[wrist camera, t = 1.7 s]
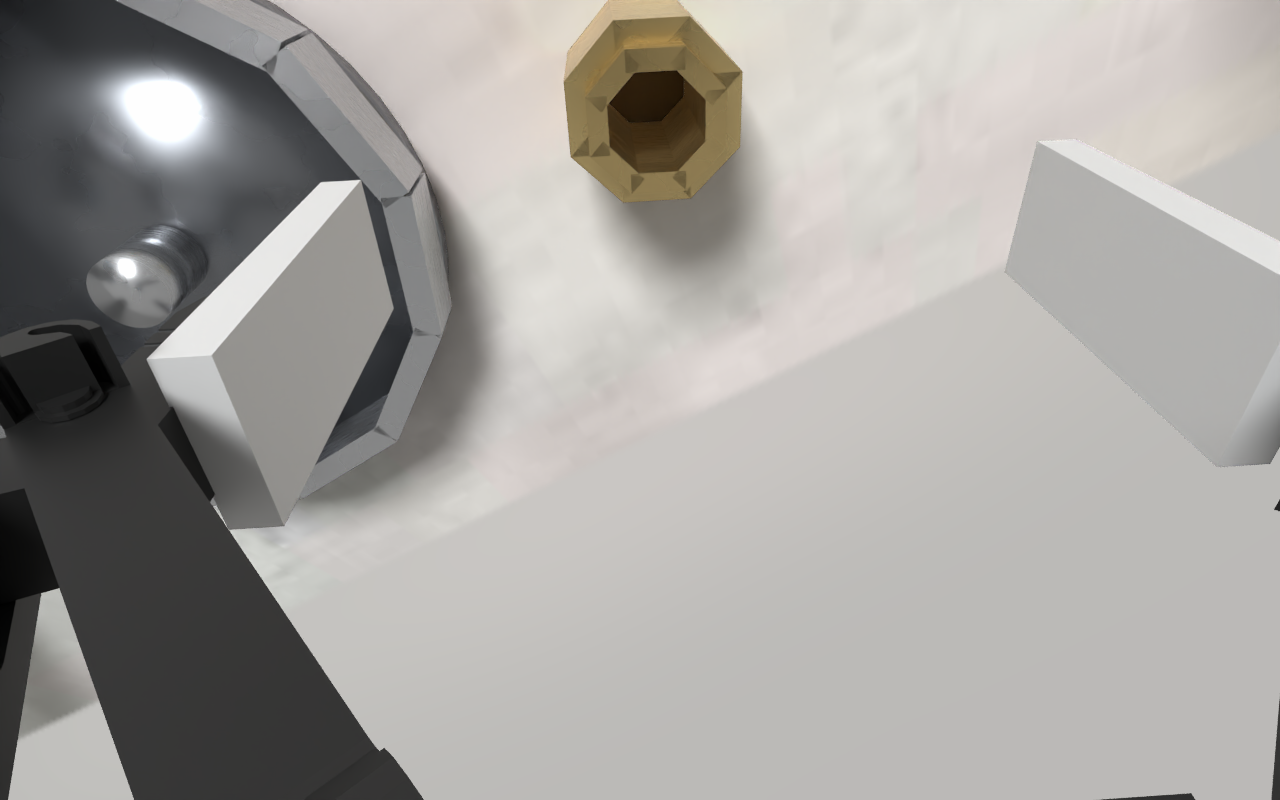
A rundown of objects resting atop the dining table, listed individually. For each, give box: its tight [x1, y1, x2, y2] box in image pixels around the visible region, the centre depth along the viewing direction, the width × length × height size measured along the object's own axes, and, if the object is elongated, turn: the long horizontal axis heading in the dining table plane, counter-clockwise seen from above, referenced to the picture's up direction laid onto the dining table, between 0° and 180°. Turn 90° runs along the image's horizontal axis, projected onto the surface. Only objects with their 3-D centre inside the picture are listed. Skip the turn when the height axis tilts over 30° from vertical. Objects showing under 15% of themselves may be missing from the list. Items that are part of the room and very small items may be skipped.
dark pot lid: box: [0, 0, 452, 506], centre depth 27 cm, size 20×20×4 cm
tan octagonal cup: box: [564, 0, 742, 203], centre depth 24 cm, size 5×5×6 cm
